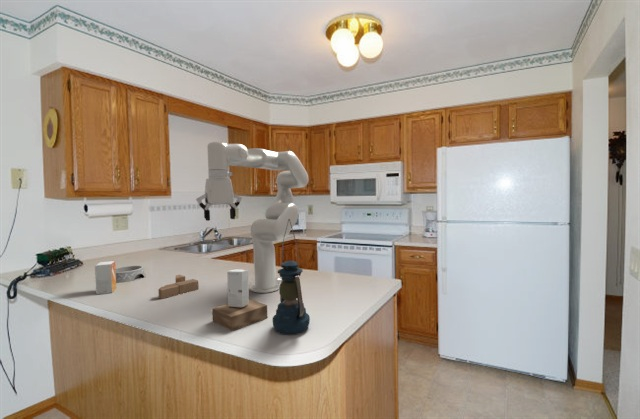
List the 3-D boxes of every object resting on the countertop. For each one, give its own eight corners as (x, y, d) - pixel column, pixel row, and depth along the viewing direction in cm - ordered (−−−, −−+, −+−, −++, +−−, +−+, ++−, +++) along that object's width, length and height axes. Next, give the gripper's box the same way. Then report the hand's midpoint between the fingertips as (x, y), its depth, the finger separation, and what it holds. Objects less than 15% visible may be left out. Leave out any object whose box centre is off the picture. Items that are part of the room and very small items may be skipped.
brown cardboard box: (247, 311, 121) (246, 298, 121) (267, 319, 113) (267, 305, 113) (212, 322, 111) (212, 308, 111) (232, 332, 103) (231, 316, 103)
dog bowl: (97, 282, 166) (97, 272, 166) (128, 273, 183) (127, 264, 183) (124, 284, 161) (124, 273, 161) (153, 275, 179) (152, 265, 178)
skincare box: (227, 306, 111) (225, 271, 112) (235, 303, 116) (233, 269, 116) (242, 307, 109) (241, 271, 109) (250, 304, 113) (248, 269, 114)
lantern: (265, 324, 107) (262, 218, 105) (297, 316, 113) (294, 216, 112) (284, 340, 95) (281, 221, 93) (318, 331, 101) (316, 218, 100)
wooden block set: (200, 277, 149) (160, 287, 135) (200, 289, 149) (161, 300, 135) (181, 272, 160) (142, 280, 146) (181, 283, 160) (143, 293, 146)
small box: (112, 292, 146) (111, 264, 146) (95, 294, 144) (94, 265, 143) (116, 288, 154) (115, 260, 153) (101, 289, 152) (99, 261, 151)
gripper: (236, 175, 133) (238, 217, 134) (192, 175, 123) (194, 220, 124) (244, 174, 127) (245, 218, 128) (198, 174, 117) (200, 221, 118)
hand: (220, 219), depth 126 cm, fingers open, 9 cm apart
